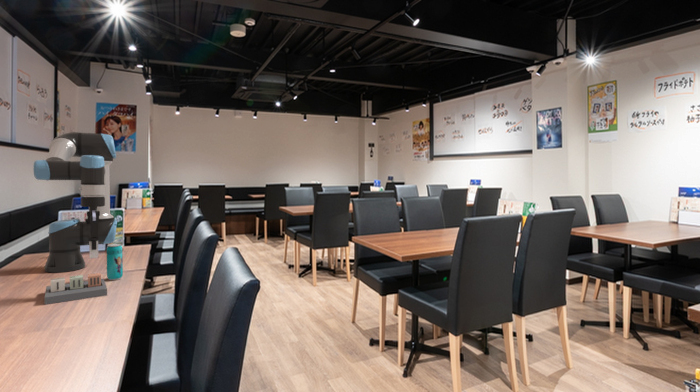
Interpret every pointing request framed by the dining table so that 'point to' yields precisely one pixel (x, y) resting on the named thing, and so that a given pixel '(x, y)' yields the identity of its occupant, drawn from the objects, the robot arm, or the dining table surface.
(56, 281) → the cream cube
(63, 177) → the robot arm
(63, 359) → the dining table surface
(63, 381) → the dining table surface
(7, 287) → the dining table surface
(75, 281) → the tile two bar
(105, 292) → the tile board
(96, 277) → the orange cube
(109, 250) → the beverage can
